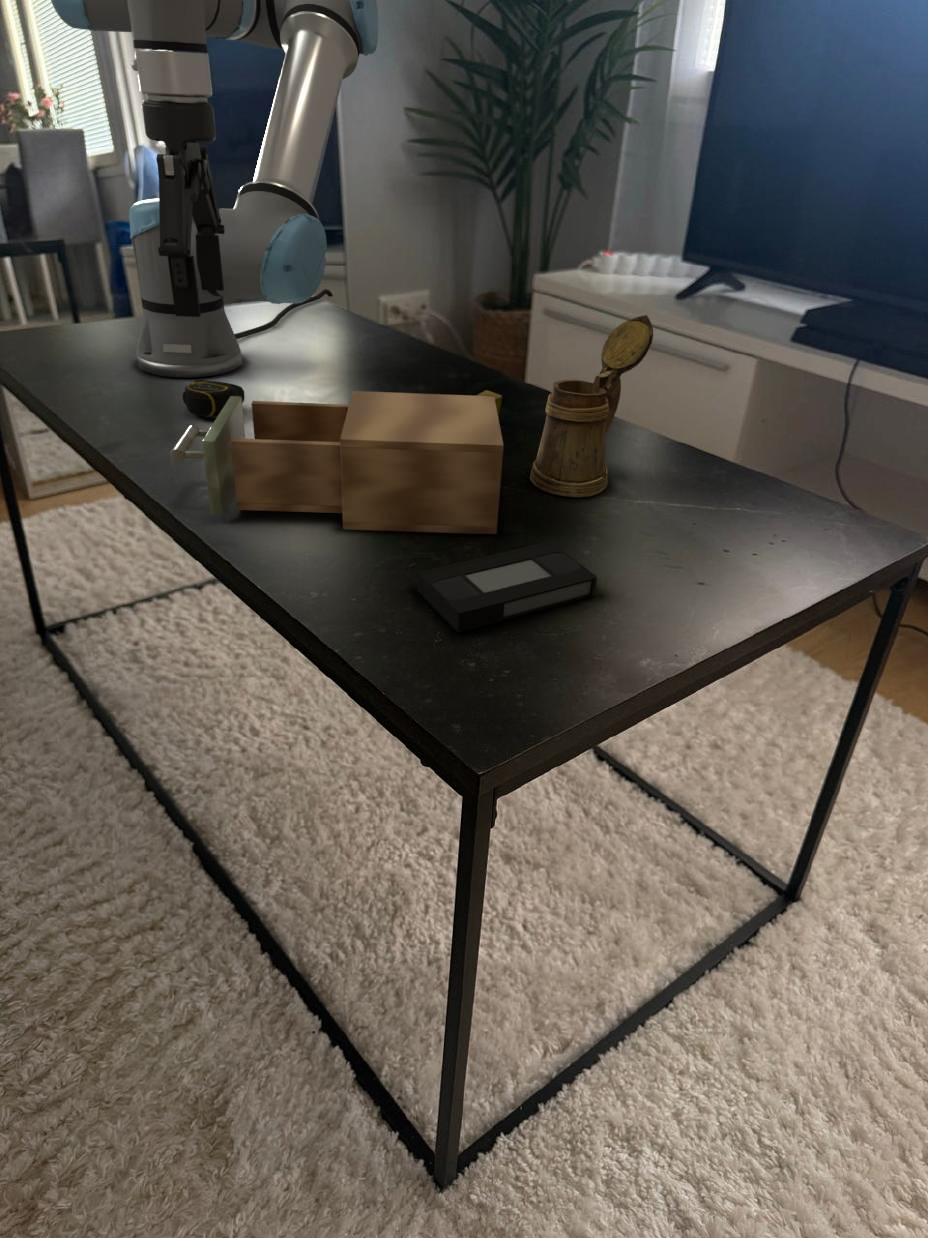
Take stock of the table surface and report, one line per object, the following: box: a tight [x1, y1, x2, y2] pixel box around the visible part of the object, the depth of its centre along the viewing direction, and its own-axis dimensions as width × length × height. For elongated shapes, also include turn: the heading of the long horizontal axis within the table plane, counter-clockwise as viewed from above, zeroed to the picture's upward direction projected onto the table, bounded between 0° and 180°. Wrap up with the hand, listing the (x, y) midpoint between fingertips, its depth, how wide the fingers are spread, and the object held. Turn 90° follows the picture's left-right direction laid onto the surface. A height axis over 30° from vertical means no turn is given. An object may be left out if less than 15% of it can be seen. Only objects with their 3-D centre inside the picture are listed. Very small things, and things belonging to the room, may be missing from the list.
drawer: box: [169, 396, 349, 516], centre depth 88 cm, size 19×13×8 cm
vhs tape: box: [417, 541, 598, 633], centre depth 75 cm, size 8×14×2 cm, turn 120°
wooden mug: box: [529, 314, 654, 498], centre depth 94 cm, size 9×14×18 cm, turn 126°
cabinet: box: [340, 390, 505, 535], centre depth 88 cm, size 16×15×10 cm
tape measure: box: [182, 379, 245, 419], centre depth 110 cm, size 7×7×4 cm
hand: (201, 302), depth 103 cm, fingers open, 13 cm apart
